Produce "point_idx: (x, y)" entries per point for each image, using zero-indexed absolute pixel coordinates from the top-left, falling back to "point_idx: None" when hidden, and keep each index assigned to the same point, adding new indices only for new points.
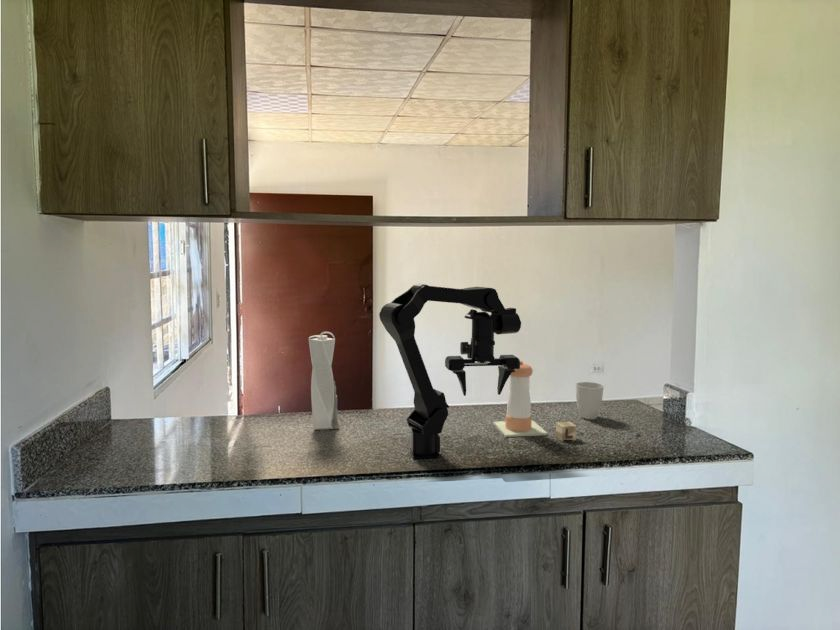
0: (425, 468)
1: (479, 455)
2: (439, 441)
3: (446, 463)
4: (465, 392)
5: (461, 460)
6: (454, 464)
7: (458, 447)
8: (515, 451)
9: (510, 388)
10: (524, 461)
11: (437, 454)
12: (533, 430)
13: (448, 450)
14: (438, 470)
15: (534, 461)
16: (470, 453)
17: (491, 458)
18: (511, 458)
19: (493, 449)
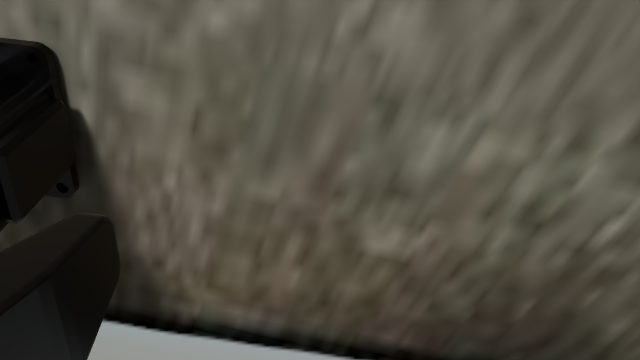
0: None
1: (324, 208)
2: (34, 204)
3: None
4: (80, 345)
5: (202, 243)
6: (157, 276)
7: (224, 47)
8: (586, 207)
9: None
10: (536, 333)
11: (63, 179)
12: None
13: (146, 86)
14: None
15: (589, 346)
16: (279, 168)
17: (377, 260)
18: (490, 287)
19: (459, 142)
